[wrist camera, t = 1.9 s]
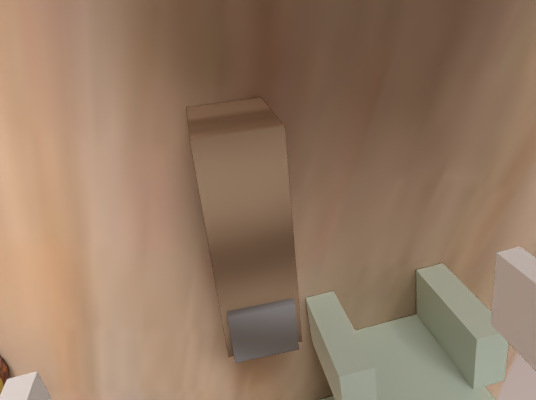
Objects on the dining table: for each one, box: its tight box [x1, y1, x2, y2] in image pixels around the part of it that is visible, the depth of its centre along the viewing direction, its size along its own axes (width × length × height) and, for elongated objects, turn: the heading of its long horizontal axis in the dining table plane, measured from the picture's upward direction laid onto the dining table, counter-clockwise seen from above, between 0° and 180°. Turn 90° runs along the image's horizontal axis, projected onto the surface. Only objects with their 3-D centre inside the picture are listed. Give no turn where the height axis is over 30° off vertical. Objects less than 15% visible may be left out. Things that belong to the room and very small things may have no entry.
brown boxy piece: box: [186, 97, 302, 363], centre depth 24 cm, size 12×4×6 cm, turn 6°
